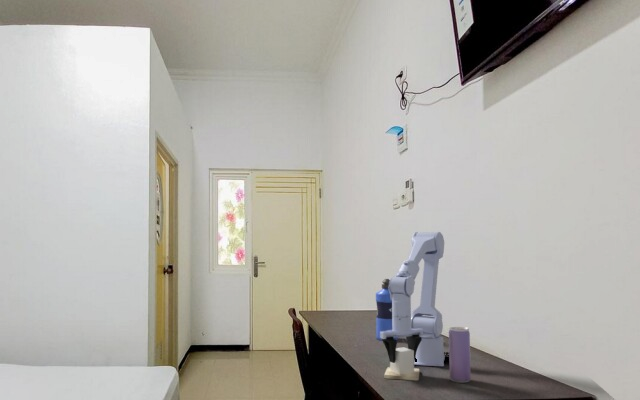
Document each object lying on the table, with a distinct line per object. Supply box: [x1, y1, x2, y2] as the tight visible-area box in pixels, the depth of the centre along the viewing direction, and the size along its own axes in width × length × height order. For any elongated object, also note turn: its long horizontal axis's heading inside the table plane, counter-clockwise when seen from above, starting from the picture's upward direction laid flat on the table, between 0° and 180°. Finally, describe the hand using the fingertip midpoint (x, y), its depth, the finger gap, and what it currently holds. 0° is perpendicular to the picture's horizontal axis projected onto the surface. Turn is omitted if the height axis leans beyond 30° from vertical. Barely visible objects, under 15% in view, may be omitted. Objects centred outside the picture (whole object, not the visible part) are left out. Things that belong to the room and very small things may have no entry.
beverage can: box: [448, 326, 472, 384], centre depth 147 cm, size 6×6×15 cm
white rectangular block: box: [389, 346, 415, 375], centre depth 153 cm, size 5×5×7 cm
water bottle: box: [375, 278, 399, 342], centre depth 210 cm, size 9×9×25 cm
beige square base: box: [383, 366, 420, 381], centre depth 152 cm, size 10×10×6 cm
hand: (402, 360), depth 153 cm, fingers open, 6 cm apart
